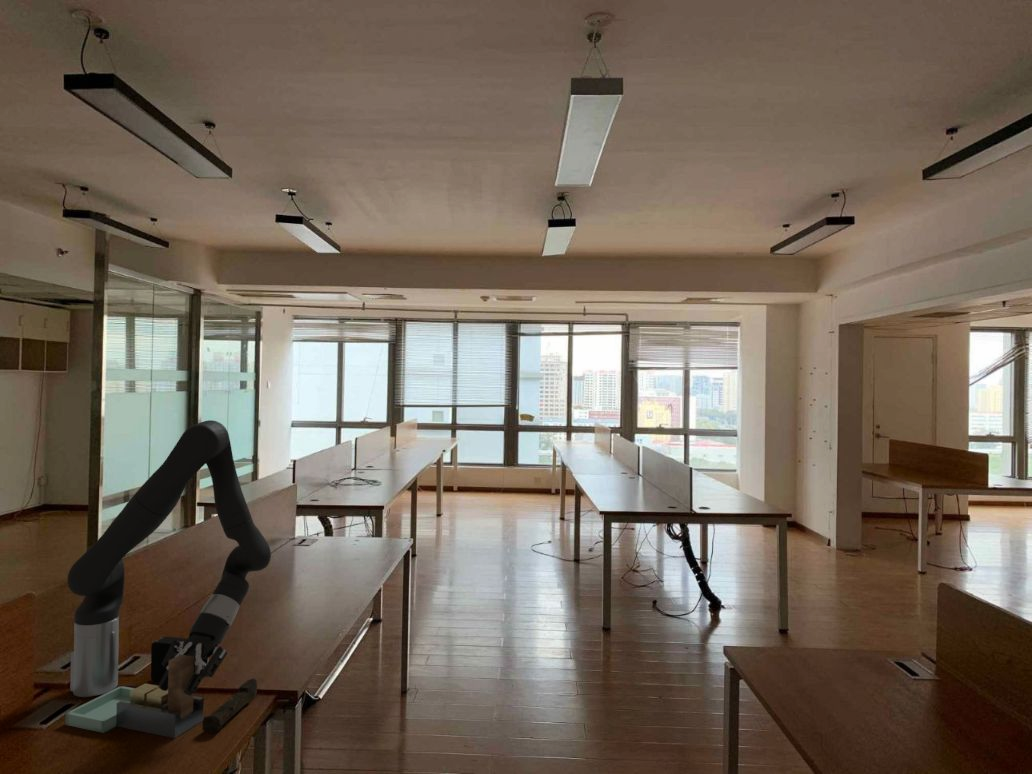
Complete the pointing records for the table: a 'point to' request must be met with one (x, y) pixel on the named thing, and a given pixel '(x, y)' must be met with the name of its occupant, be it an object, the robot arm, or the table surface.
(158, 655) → the electronic device
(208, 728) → the hand tool
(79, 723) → the tray
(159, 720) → the slot rail
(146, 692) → the tan cube
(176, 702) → the tan wooden block
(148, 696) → the pale yellow cube
